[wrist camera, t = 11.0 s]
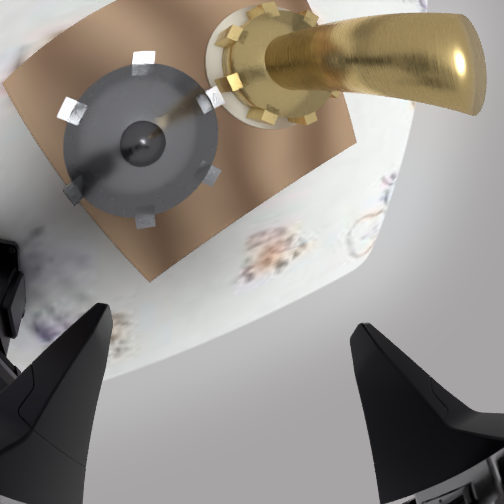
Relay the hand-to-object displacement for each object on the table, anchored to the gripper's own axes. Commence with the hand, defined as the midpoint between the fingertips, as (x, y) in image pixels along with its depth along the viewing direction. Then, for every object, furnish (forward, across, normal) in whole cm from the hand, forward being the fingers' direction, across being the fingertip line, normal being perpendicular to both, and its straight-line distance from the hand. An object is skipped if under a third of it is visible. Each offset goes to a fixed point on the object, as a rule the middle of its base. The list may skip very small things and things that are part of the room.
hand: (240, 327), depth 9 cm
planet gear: (+12, -1, -9) cm, 15 cm away
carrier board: (+12, +3, -7) cm, 14 cm away
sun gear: (+9, +6, -4) cm, 12 cm away
